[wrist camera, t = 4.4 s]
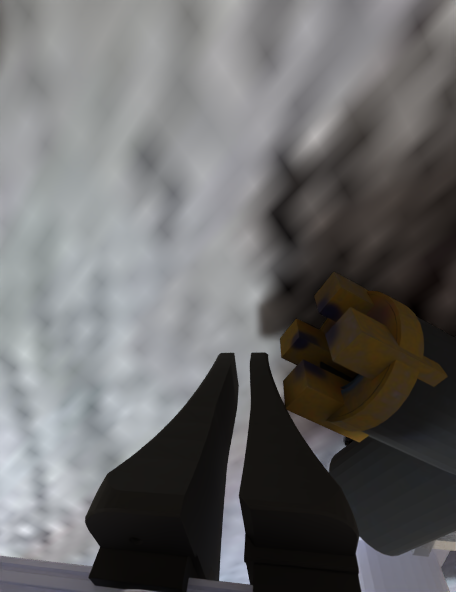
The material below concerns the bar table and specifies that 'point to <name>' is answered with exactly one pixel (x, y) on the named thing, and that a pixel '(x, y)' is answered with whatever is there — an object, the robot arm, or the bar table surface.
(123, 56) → the bar table surface
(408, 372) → the pipe connector
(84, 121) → the bar table surface
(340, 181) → the bar table surface
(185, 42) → the bar table surface
